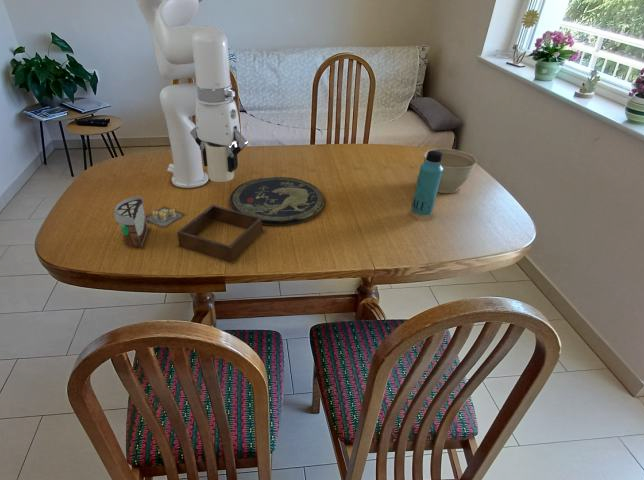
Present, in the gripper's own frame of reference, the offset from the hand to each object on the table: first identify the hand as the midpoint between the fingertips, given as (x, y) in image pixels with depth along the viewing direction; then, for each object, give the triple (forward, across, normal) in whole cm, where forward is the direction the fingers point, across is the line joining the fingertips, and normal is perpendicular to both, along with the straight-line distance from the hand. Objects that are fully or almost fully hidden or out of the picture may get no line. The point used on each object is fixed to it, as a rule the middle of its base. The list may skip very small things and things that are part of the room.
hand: (220, 166), depth 103 cm
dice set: (+21, +22, +1) cm, 30 cm away
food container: (+21, +22, +14) cm, 33 cm away
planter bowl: (+21, -50, -58) cm, 79 cm away
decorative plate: (+21, -4, -24) cm, 32 cm away
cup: (+3, 0, 0) cm, 3 cm away
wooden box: (+20, 0, +2) cm, 21 cm away
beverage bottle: (+20, -47, -36) cm, 62 cm away
